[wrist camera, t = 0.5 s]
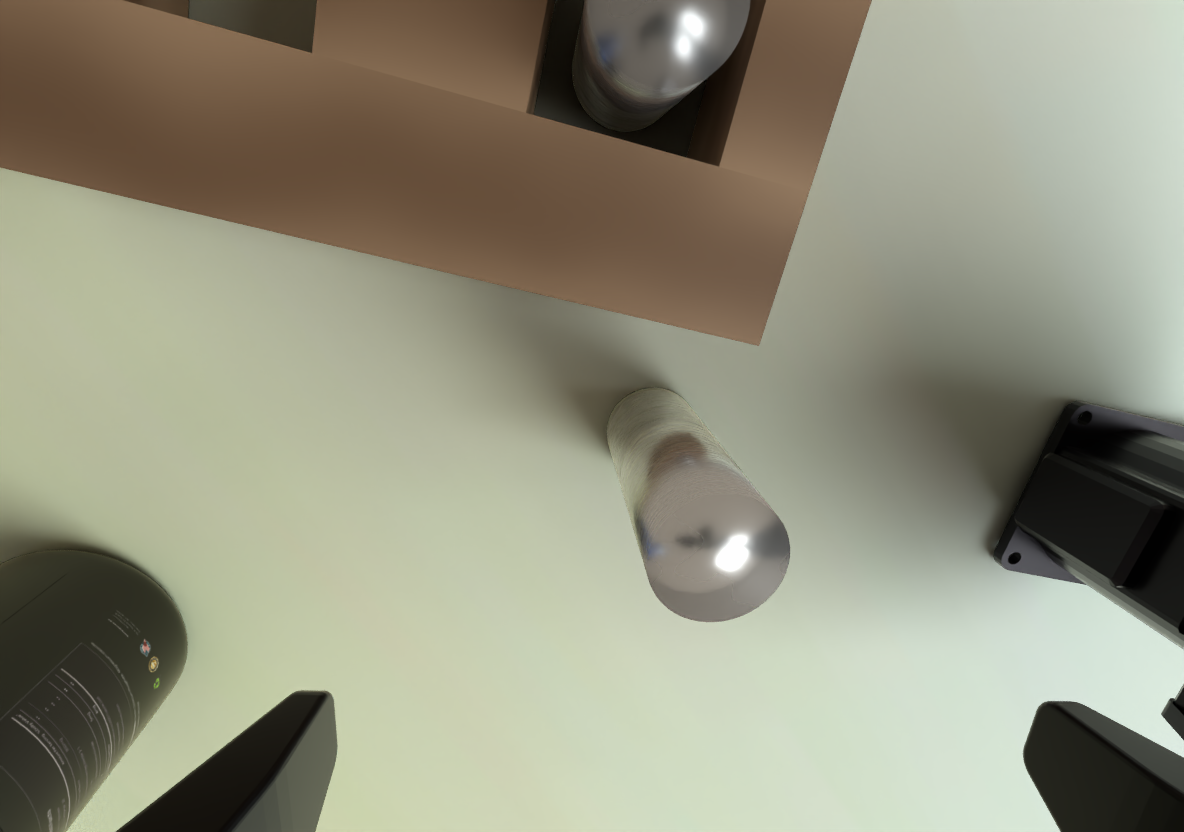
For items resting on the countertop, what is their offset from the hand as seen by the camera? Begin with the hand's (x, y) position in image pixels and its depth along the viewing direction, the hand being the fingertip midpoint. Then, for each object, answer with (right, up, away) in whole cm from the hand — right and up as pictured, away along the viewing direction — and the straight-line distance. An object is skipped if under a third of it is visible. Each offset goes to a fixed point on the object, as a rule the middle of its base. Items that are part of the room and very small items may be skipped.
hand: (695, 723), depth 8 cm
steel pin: (+1, +3, +12) cm, 13 cm away
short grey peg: (0, +13, +9) cm, 16 cm away
